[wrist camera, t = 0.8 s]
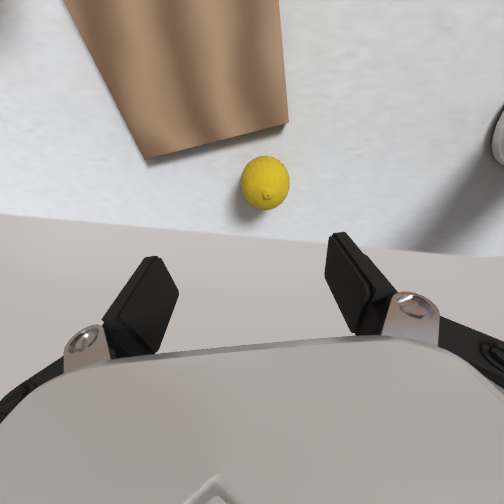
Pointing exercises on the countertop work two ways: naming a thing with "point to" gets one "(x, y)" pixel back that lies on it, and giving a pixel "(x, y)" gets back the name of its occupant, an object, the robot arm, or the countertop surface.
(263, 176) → the lemon
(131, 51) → the cutting board
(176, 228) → the countertop surface
